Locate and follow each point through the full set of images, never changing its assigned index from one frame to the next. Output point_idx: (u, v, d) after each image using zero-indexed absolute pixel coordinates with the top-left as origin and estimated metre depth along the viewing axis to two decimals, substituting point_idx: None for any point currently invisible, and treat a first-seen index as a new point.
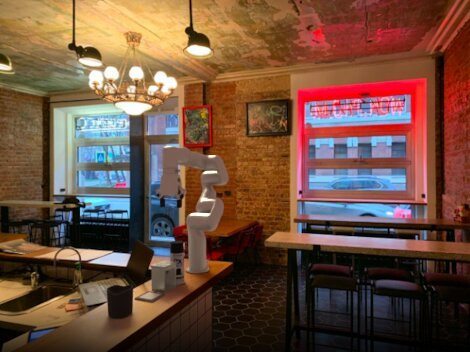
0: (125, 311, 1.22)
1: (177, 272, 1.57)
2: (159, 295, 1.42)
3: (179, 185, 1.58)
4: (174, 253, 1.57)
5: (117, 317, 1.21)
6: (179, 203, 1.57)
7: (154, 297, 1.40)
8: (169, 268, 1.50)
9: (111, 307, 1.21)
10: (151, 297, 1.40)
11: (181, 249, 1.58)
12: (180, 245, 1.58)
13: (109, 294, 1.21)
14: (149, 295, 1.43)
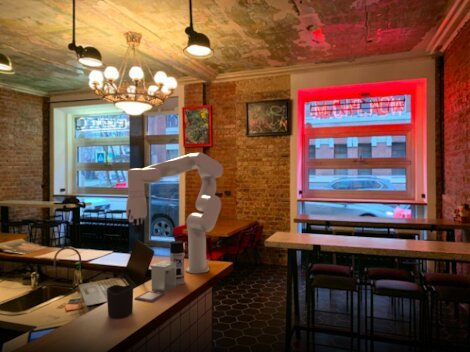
0: (125, 311, 1.22)
1: (177, 272, 1.57)
2: (159, 295, 1.42)
3: None
4: (174, 253, 1.57)
5: (117, 317, 1.21)
6: None
7: (154, 297, 1.40)
8: (169, 268, 1.50)
9: (111, 307, 1.21)
10: (151, 297, 1.40)
11: (181, 249, 1.58)
12: (180, 245, 1.58)
13: (109, 294, 1.21)
14: (149, 295, 1.43)
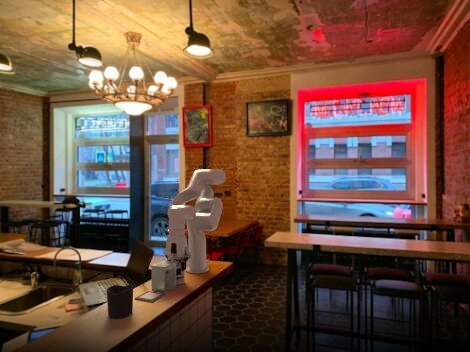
0: (125, 311, 1.22)
1: (177, 272, 1.57)
2: (159, 295, 1.42)
3: None
4: (174, 253, 1.57)
5: (117, 317, 1.21)
6: None
7: (154, 297, 1.40)
8: (169, 268, 1.50)
9: (111, 307, 1.21)
10: (151, 297, 1.40)
11: None
12: None
13: (109, 294, 1.21)
14: (149, 295, 1.43)
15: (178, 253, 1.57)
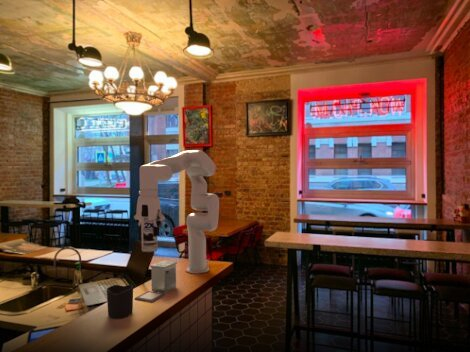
0: (125, 311, 1.22)
1: (148, 237, 1.39)
2: (159, 295, 1.42)
3: None
4: (145, 216, 1.39)
5: (117, 317, 1.21)
6: None
7: (154, 297, 1.40)
8: (169, 268, 1.50)
9: (111, 307, 1.21)
10: (151, 297, 1.40)
11: None
12: None
13: (109, 294, 1.21)
14: (149, 295, 1.43)
15: (149, 216, 1.38)
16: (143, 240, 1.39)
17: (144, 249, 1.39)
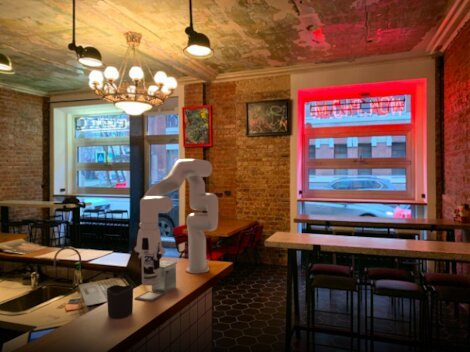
0: (125, 311, 1.22)
1: (149, 271, 1.39)
2: (159, 295, 1.42)
3: None
4: (145, 249, 1.39)
5: (117, 317, 1.21)
6: None
7: (154, 297, 1.40)
8: (169, 268, 1.50)
9: (111, 307, 1.21)
10: (151, 297, 1.40)
11: None
12: None
13: (109, 294, 1.21)
14: (149, 295, 1.43)
15: (150, 249, 1.38)
16: (143, 273, 1.39)
17: (144, 282, 1.39)
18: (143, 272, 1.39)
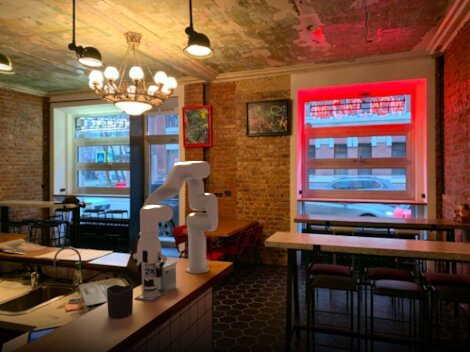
0: (125, 311, 1.22)
1: (149, 283, 1.39)
2: (159, 295, 1.42)
3: None
4: (146, 262, 1.39)
5: (117, 317, 1.21)
6: None
7: (154, 297, 1.40)
8: (169, 268, 1.50)
9: (111, 307, 1.21)
10: None
11: None
12: None
13: (109, 294, 1.21)
14: None
15: (150, 259, 1.38)
16: (144, 286, 1.40)
17: (145, 295, 1.39)
18: (143, 285, 1.40)
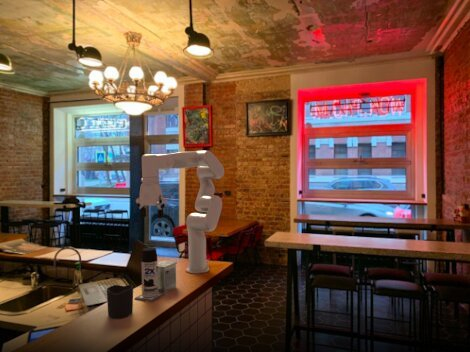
0: (125, 311, 1.22)
1: (149, 283, 1.39)
2: (159, 295, 1.42)
3: None
4: (146, 262, 1.39)
5: (117, 317, 1.21)
6: None
7: (154, 297, 1.40)
8: (169, 268, 1.50)
9: (111, 307, 1.21)
10: None
11: (153, 257, 1.40)
12: (152, 253, 1.40)
13: (109, 294, 1.21)
14: None
15: (152, 201, 1.51)
16: (143, 286, 1.40)
17: (145, 295, 1.39)
18: (143, 285, 1.40)
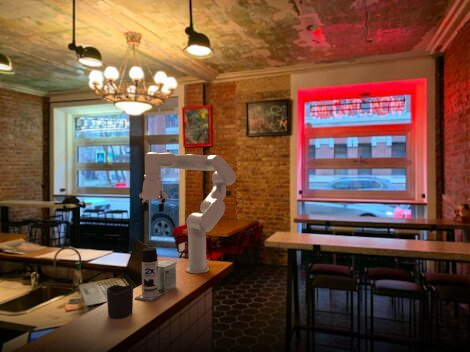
0: (125, 311, 1.22)
1: (149, 283, 1.39)
2: (159, 295, 1.42)
3: None
4: (146, 262, 1.39)
5: (117, 317, 1.21)
6: None
7: (154, 297, 1.40)
8: (169, 268, 1.50)
9: (111, 307, 1.21)
10: None
11: (153, 257, 1.40)
12: (153, 253, 1.40)
13: (109, 294, 1.21)
14: None
15: (153, 196, 1.63)
16: (144, 286, 1.40)
17: (145, 295, 1.39)
18: (143, 285, 1.40)
